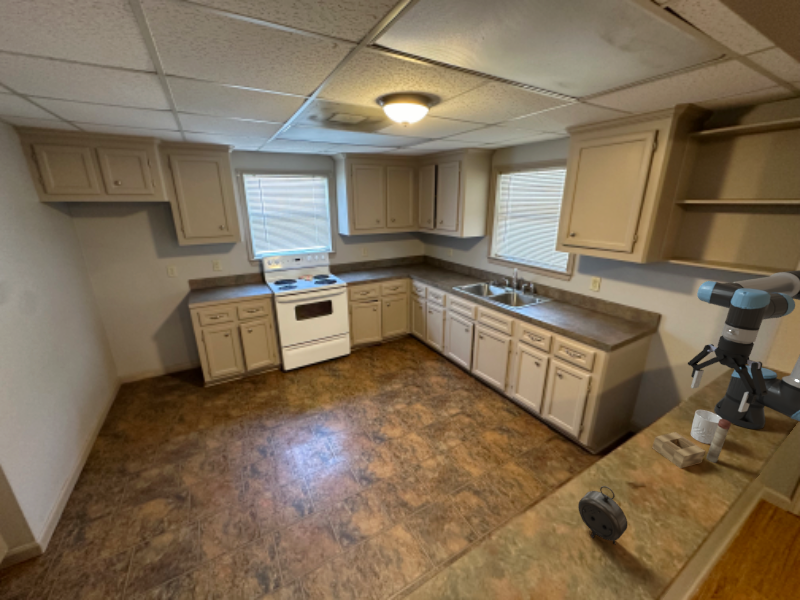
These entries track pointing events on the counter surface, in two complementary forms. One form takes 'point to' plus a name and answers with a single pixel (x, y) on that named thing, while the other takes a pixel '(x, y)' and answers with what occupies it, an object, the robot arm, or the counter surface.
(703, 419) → the white cup
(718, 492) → the counter surface
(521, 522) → the counter surface
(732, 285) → the robot arm
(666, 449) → the bead block
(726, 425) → the brown-tipped rod
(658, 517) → the counter surface
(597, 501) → the alarm clock
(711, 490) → the counter surface
